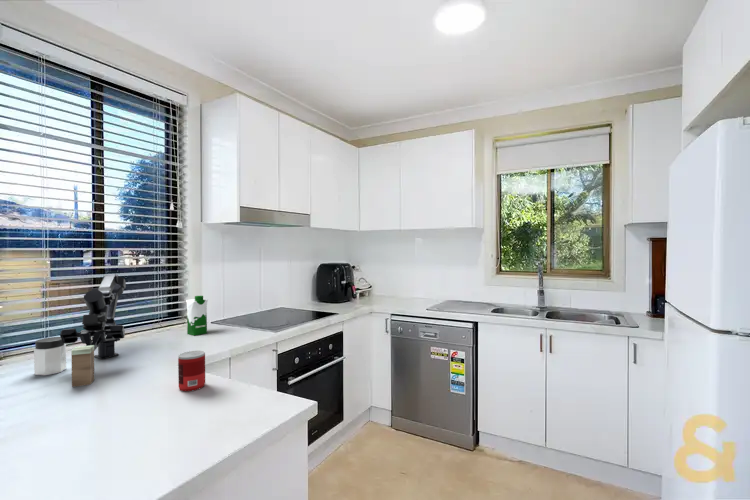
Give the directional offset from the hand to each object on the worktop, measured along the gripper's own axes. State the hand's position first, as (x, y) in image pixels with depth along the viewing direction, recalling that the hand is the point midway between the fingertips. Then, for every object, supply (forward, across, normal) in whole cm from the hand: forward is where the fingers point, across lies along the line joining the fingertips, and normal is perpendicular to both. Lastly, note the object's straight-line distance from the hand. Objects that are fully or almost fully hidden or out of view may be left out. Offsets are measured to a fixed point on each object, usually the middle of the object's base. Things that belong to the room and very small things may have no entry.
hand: (89, 354), depth 133 cm
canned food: (+26, +34, -14) cm, 44 cm away
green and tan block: (+11, 0, 0) cm, 11 cm away
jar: (-2, -14, +14) cm, 20 cm away
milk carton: (-32, +34, +43) cm, 64 cm away
